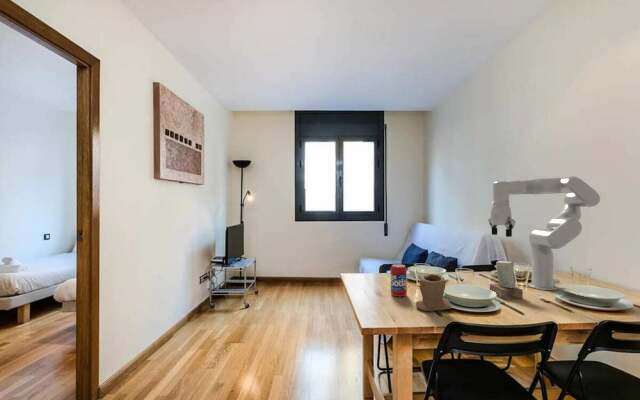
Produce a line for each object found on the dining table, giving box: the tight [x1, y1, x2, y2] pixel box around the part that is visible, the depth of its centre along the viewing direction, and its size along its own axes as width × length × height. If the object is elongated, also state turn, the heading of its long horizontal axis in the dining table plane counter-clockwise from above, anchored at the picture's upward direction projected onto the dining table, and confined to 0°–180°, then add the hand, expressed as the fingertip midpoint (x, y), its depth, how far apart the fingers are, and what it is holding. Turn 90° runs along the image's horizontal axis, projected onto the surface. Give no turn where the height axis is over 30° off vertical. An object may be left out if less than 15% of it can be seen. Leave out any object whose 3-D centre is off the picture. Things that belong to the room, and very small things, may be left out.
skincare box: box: [495, 260, 516, 288], centre depth 149 cm, size 6×4×12 cm
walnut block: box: [489, 283, 524, 300], centre depth 149 cm, size 10×10×5 cm
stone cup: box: [415, 273, 452, 312], centre depth 131 cm, size 15×12×15 cm
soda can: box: [390, 263, 408, 298], centre depth 152 cm, size 8×8×15 cm
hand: (501, 235), depth 163 cm, fingers open, 9 cm apart
